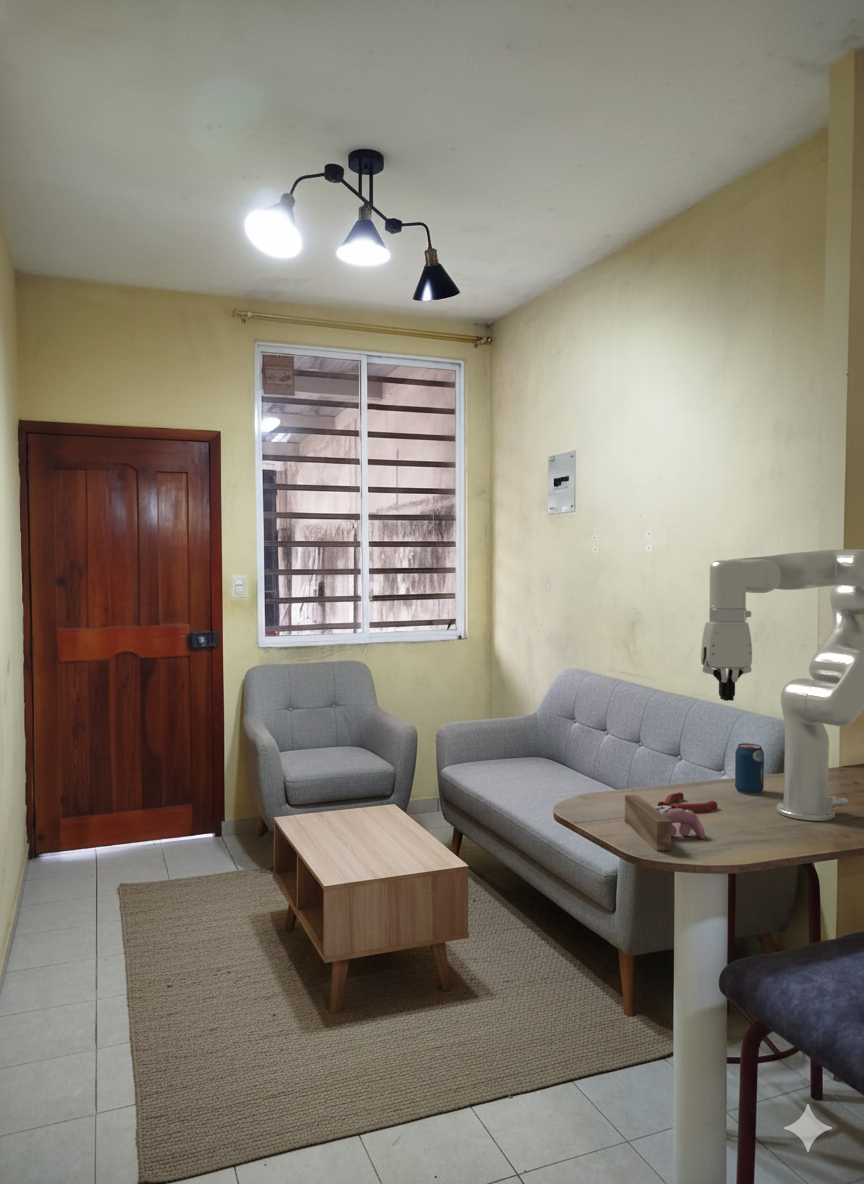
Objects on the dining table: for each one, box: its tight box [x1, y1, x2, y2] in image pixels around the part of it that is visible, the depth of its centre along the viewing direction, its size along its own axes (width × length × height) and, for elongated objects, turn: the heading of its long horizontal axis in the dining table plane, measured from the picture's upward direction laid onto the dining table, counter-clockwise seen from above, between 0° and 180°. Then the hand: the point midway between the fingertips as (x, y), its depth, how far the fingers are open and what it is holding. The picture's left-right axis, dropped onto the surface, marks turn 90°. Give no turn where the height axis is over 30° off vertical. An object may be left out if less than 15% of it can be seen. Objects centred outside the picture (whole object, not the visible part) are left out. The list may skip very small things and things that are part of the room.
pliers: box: [654, 792, 718, 814], centre depth 202 cm, size 12×20×3 cm, turn 129°
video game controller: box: [660, 809, 706, 840], centre depth 183 cm, size 10×5×7 cm, turn 101°
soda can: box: [734, 742, 765, 796], centre depth 220 cm, size 7×7×12 cm
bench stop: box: [624, 794, 672, 852], centre depth 183 cm, size 3×20×6 cm, turn 6°
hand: (726, 699), depth 188 cm, fingers closed
